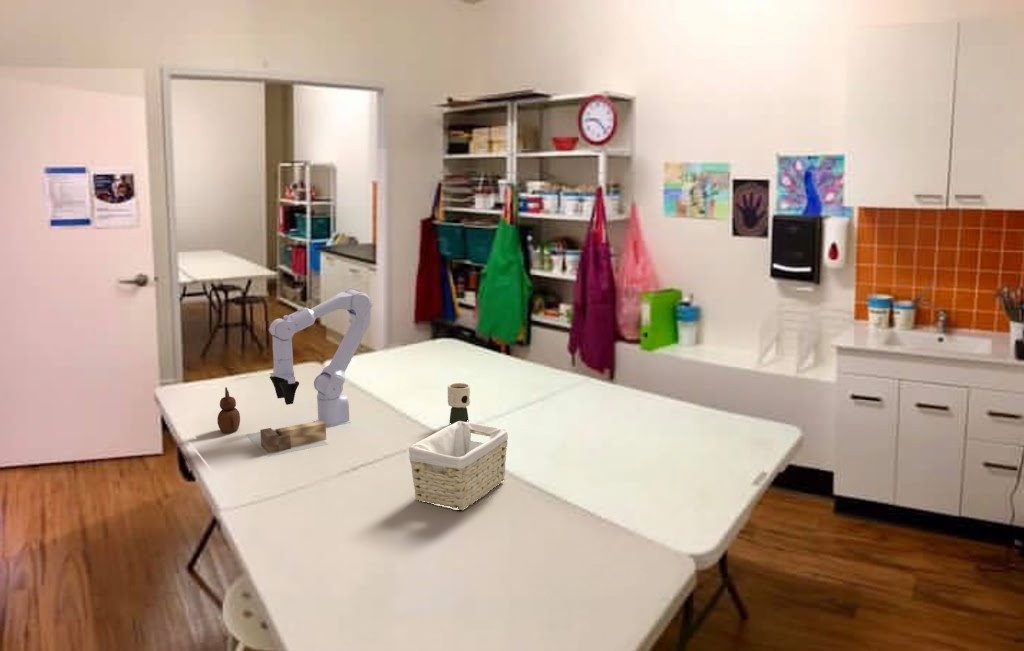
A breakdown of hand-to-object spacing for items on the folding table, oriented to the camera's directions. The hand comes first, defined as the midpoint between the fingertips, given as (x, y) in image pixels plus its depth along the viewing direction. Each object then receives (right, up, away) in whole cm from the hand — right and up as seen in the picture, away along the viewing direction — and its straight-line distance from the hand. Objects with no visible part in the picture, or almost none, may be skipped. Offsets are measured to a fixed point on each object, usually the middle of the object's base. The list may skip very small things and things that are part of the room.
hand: (285, 400), depth 245 cm
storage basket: (+57, -20, -42) cm, 73 cm away
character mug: (+53, -9, +9) cm, 55 cm away
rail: (+7, -12, -9) cm, 16 cm away
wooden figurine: (-17, -10, +1) cm, 20 cm away
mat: (+2, -11, -6) cm, 13 cm away
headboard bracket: (+1, -12, -13) cm, 18 cm away
